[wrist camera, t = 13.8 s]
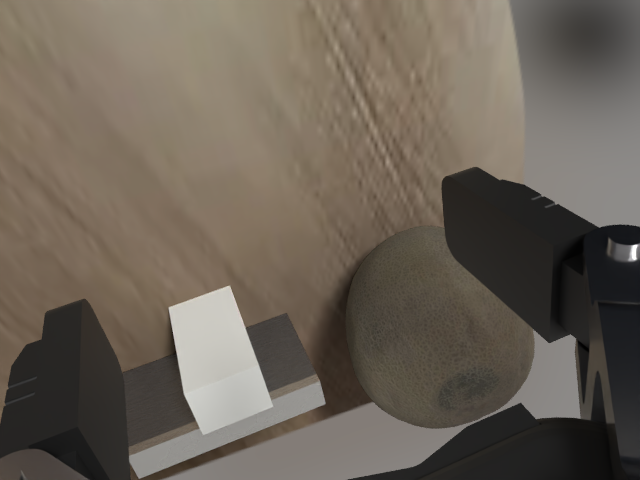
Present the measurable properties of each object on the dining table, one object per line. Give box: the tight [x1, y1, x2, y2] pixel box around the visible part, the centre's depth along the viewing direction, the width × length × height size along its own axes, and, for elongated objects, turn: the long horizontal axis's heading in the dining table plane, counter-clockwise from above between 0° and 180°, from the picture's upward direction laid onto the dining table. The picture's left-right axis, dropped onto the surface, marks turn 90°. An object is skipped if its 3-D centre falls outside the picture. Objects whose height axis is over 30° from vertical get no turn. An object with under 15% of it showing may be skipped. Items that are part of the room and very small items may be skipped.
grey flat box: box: [123, 313, 326, 479], centre depth 43 cm, size 14×2×9 cm, turn 101°
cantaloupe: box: [346, 226, 534, 428], centre depth 43 cm, size 14×14×15 cm
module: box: [169, 286, 273, 435], centre depth 41 cm, size 5×4×10 cm
